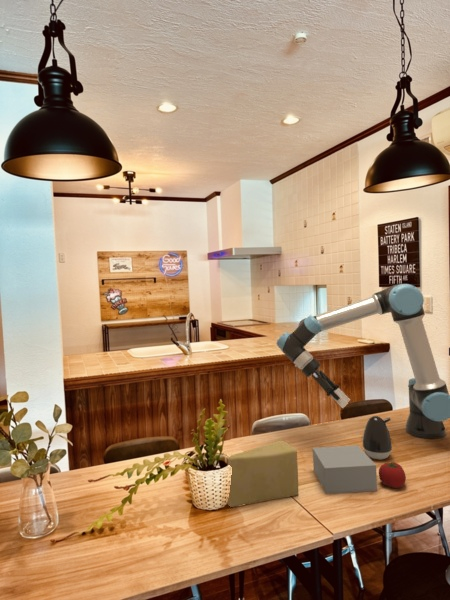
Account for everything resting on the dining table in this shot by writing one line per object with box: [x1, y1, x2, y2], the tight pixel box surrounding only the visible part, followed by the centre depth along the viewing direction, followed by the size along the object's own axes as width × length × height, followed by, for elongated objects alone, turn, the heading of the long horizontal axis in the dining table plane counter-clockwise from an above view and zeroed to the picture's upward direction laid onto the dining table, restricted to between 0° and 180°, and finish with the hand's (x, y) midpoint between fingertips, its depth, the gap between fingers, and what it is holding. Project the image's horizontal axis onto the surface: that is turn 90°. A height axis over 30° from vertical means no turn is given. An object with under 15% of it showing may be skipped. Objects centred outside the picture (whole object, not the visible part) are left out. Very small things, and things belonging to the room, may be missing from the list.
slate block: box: [312, 444, 378, 495], centre depth 130 cm, size 16×16×8 cm
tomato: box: [378, 461, 407, 489], centre depth 125 cm, size 8×8×7 cm
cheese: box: [227, 440, 299, 508], centre depth 121 cm, size 22×10×15 cm, turn 113°
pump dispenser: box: [362, 415, 393, 461], centre depth 146 cm, size 10×10×15 cm
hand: (346, 404), depth 153 cm, fingers open, 13 cm apart
